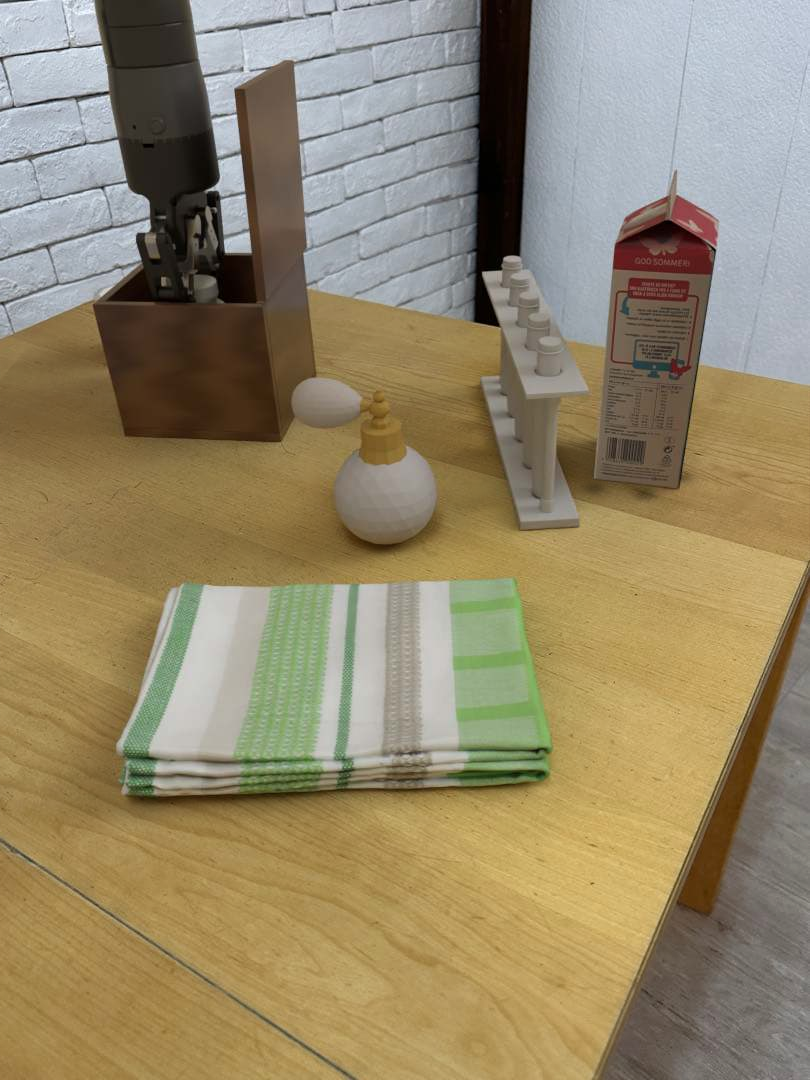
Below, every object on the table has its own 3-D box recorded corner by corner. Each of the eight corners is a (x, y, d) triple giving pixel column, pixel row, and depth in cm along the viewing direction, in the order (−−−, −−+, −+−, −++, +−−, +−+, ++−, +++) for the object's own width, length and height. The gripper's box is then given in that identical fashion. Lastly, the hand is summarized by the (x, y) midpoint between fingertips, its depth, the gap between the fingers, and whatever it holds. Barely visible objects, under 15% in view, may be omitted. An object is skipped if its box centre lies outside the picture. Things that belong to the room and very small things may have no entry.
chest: (124, 435, 82) (91, 304, 75) (178, 372, 93) (153, 252, 86) (280, 442, 80) (262, 307, 72) (316, 375, 90) (303, 252, 83)
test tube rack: (480, 384, 87) (481, 246, 80) (525, 381, 87) (531, 244, 80) (520, 530, 67) (526, 364, 59) (579, 526, 67) (593, 360, 59)
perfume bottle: (446, 555, 65) (442, 404, 58) (310, 570, 64) (290, 419, 57) (430, 500, 71) (425, 356, 64) (306, 513, 70) (287, 369, 63)
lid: (233, 88, 63) (244, 88, 63) (284, 59, 74) (293, 60, 74) (256, 301, 72) (266, 301, 72) (298, 247, 83) (307, 248, 83)
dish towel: (176, 604, 61) (166, 563, 59) (515, 587, 61) (516, 545, 59) (116, 812, 47) (100, 767, 45) (556, 791, 47) (559, 744, 45)
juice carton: (593, 478, 72) (619, 193, 60) (604, 439, 77) (629, 168, 65) (679, 488, 70) (724, 196, 58) (684, 447, 76) (726, 171, 63)
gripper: (153, 108, 78) (188, 298, 88) (80, 145, 67) (130, 359, 77) (236, 107, 77) (262, 299, 87) (177, 144, 66) (214, 361, 76)
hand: (200, 326), depth 82 cm, fingers closed on supplement bottle, 5 cm apart
